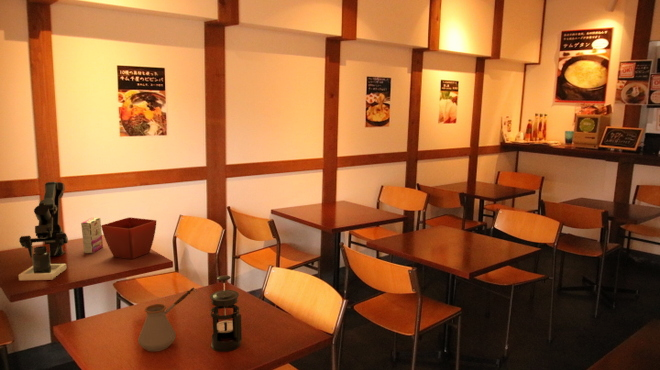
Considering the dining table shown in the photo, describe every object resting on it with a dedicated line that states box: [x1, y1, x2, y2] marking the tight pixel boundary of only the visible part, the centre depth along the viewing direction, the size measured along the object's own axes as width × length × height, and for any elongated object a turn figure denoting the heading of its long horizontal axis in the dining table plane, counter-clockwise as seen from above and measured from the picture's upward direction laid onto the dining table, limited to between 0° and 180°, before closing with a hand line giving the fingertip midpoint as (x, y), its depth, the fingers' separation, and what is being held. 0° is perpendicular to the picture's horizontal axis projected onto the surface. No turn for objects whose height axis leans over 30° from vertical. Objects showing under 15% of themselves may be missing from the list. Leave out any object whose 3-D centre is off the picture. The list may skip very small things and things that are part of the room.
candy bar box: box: [80, 217, 104, 254], centre depth 255 cm, size 11×5×16 cm, turn 179°
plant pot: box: [101, 217, 157, 260], centre depth 248 cm, size 19×19×17 cm
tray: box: [18, 263, 68, 281], centre depth 220 cm, size 14×14×2 cm
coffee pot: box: [137, 287, 198, 353], centre depth 159 cm, size 21×12×15 cm, turn 143°
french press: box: [209, 274, 243, 353], centre depth 155 cm, size 12×9×23 cm
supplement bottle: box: [31, 245, 52, 273], centre depth 219 cm, size 7×7×12 cm
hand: (42, 256), depth 221 cm, fingers open, 9 cm apart
